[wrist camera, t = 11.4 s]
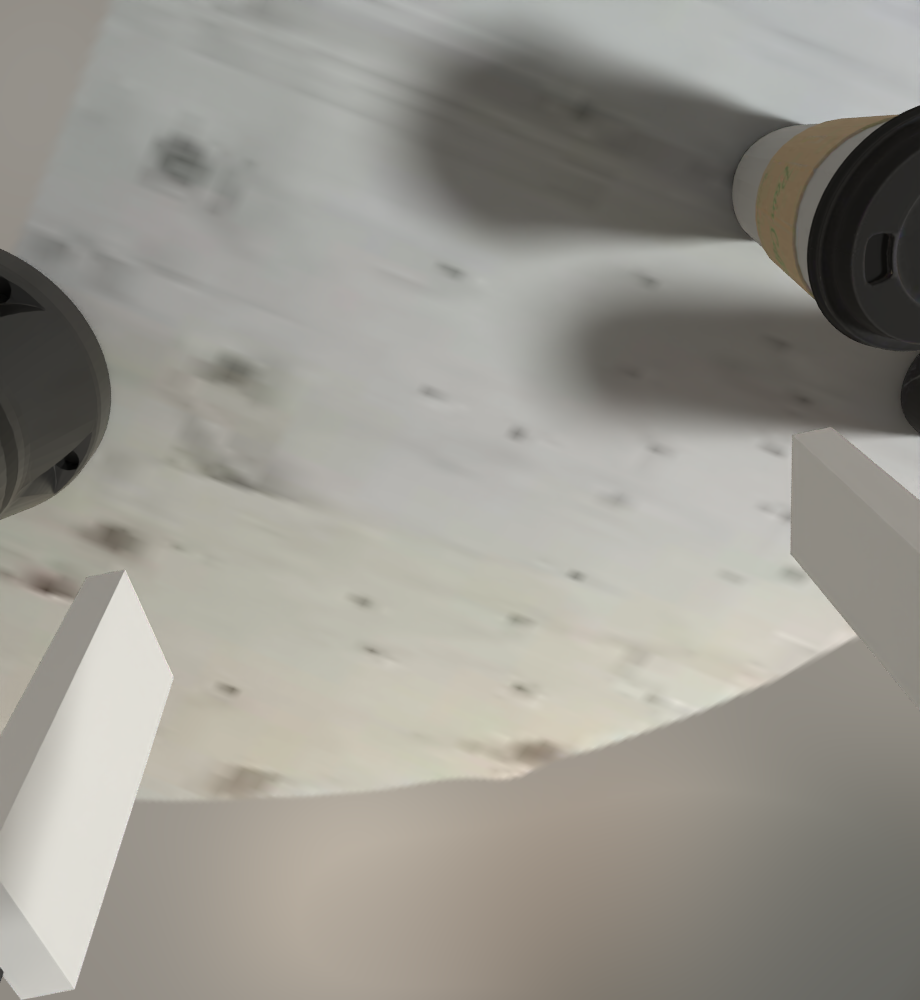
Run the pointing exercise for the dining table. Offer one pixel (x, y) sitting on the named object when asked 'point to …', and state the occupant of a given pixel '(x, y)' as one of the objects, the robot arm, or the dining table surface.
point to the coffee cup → (843, 219)
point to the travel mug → (912, 395)
